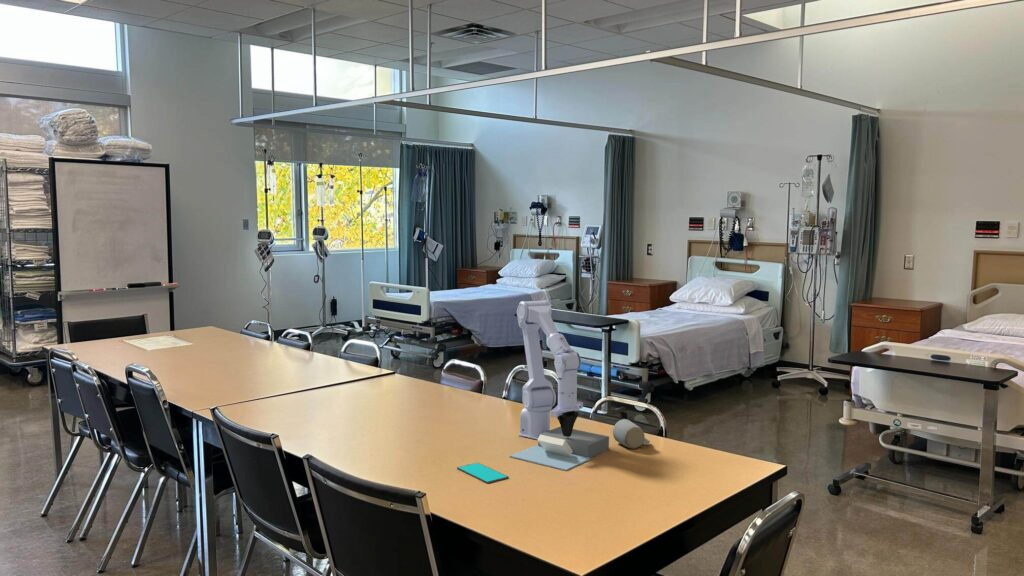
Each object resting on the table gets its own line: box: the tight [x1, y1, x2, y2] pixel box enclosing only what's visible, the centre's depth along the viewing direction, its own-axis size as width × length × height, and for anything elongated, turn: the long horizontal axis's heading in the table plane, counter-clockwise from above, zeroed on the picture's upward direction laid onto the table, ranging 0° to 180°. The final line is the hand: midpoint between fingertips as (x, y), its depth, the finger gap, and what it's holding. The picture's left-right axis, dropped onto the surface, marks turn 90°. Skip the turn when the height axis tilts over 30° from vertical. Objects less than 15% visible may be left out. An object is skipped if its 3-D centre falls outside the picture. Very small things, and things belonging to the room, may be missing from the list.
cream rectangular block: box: [537, 435, 573, 457], centre depth 221 cm, size 9×6×2 cm
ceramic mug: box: [612, 418, 651, 450], centre depth 231 cm, size 11×8×8 cm
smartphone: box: [456, 462, 510, 485], centre depth 205 cm, size 7×1×15 cm
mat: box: [509, 445, 592, 472], centre depth 219 cm, size 20×13×1 cm, turn 52°
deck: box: [537, 425, 610, 459], centre depth 228 cm, size 18×12×4 cm, turn 52°
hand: (566, 435), depth 225 cm, fingers closed
